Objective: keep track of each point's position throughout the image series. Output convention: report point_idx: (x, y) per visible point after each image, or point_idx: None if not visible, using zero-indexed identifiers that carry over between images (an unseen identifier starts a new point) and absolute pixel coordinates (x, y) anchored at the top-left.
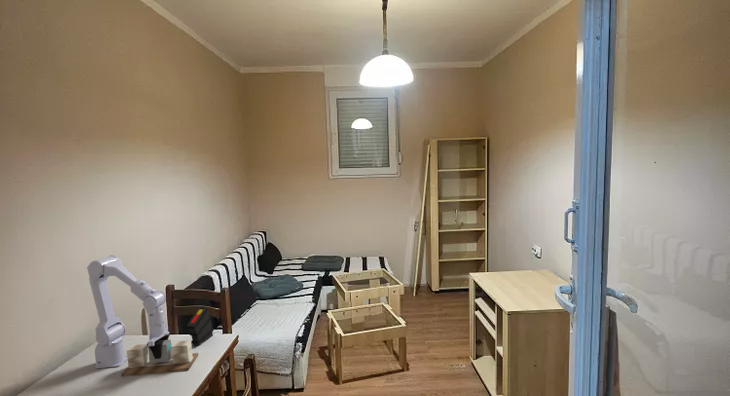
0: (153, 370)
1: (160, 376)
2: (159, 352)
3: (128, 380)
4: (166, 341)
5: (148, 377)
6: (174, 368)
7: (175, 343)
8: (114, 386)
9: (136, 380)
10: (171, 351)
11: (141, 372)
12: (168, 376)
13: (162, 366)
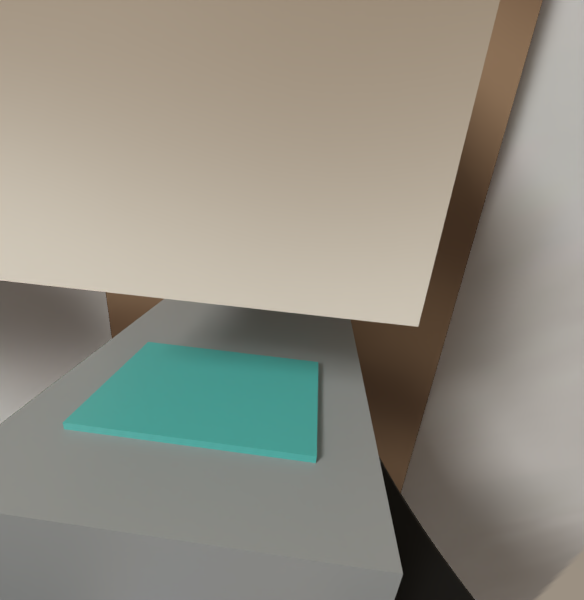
0: (418, 401)
1: (524, 307)
2: (394, 509)
3: (460, 525)
4: (79, 597)
5: (484, 407)
6: (480, 175)
7: (138, 237)
8: (510, 578)
9: (492, 479)
10: (180, 307)
11: (402, 482)
12: (576, 218)
13: (357, 337)
